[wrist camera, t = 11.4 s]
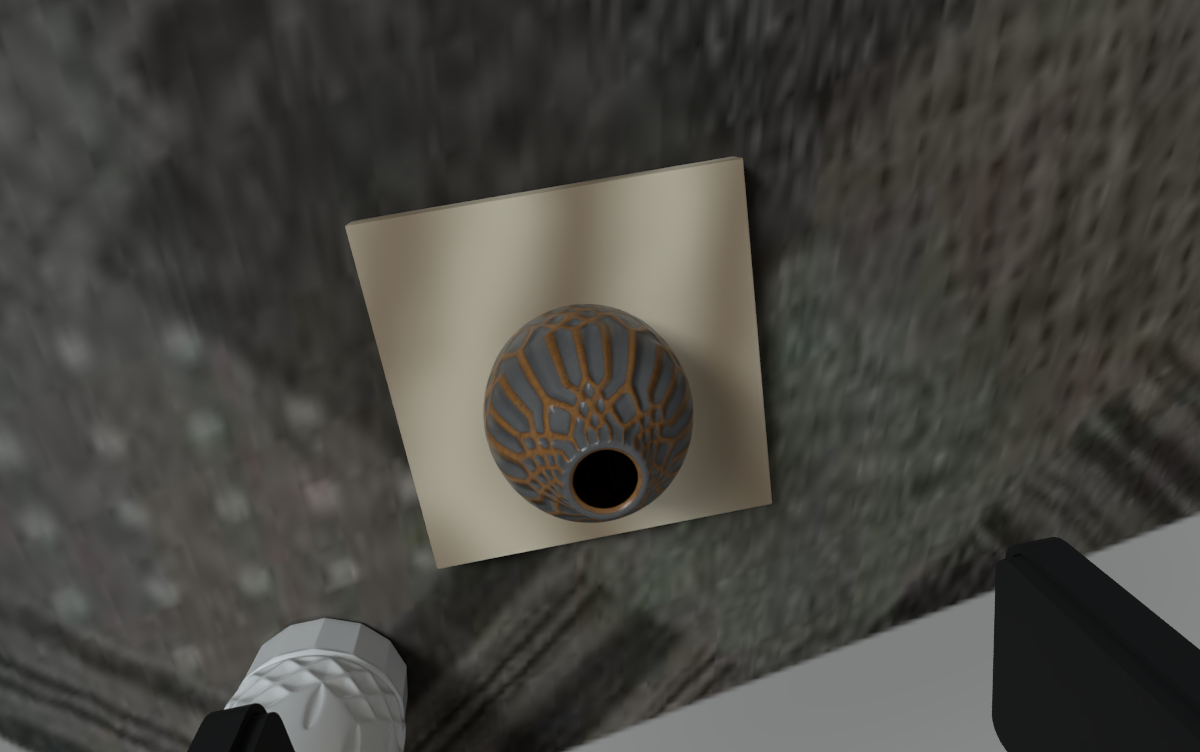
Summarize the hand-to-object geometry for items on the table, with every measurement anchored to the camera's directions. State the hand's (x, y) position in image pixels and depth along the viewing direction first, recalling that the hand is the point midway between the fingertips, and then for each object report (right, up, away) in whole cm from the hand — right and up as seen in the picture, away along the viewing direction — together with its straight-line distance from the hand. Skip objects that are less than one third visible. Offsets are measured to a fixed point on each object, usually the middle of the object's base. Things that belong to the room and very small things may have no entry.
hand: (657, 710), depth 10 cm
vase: (-2, +4, +19) cm, 20 cm away
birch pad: (-2, +5, +20) cm, 21 cm away
